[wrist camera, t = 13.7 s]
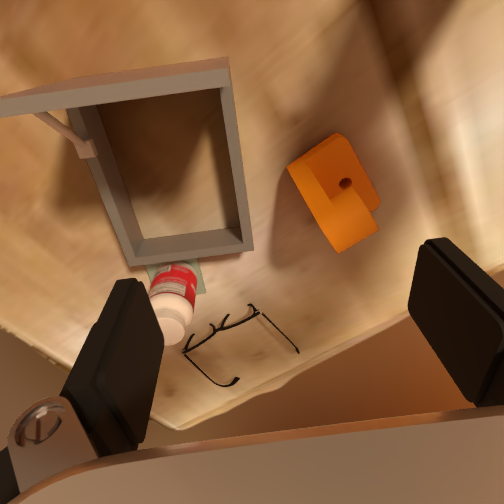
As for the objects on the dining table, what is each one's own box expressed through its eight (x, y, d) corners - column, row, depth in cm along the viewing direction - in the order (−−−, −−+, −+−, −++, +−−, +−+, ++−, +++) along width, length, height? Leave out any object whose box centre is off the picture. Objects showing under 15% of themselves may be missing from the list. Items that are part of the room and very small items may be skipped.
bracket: (374, 195, 43) (419, 243, 33) (326, 225, 45) (355, 278, 35) (337, 127, 38) (376, 159, 28) (285, 164, 40) (304, 206, 30)
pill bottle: (191, 296, 50) (182, 354, 40) (151, 286, 48) (133, 344, 39) (203, 265, 47) (197, 320, 37) (161, 253, 45) (143, 308, 36)
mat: (143, 257, 46) (142, 259, 46) (195, 251, 46) (195, 252, 45) (157, 297, 50) (157, 299, 50) (205, 291, 50) (205, 293, 50)
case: (72, 78, 33) (-32, 103, 20) (228, 56, 33) (227, 67, 20) (136, 248, 45) (97, 335, 32) (251, 232, 45) (261, 314, 31)
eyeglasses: (258, 292, 51) (261, 310, 48) (305, 346, 59) (310, 364, 56) (178, 336, 56) (175, 355, 52) (232, 381, 63) (232, 400, 60)
